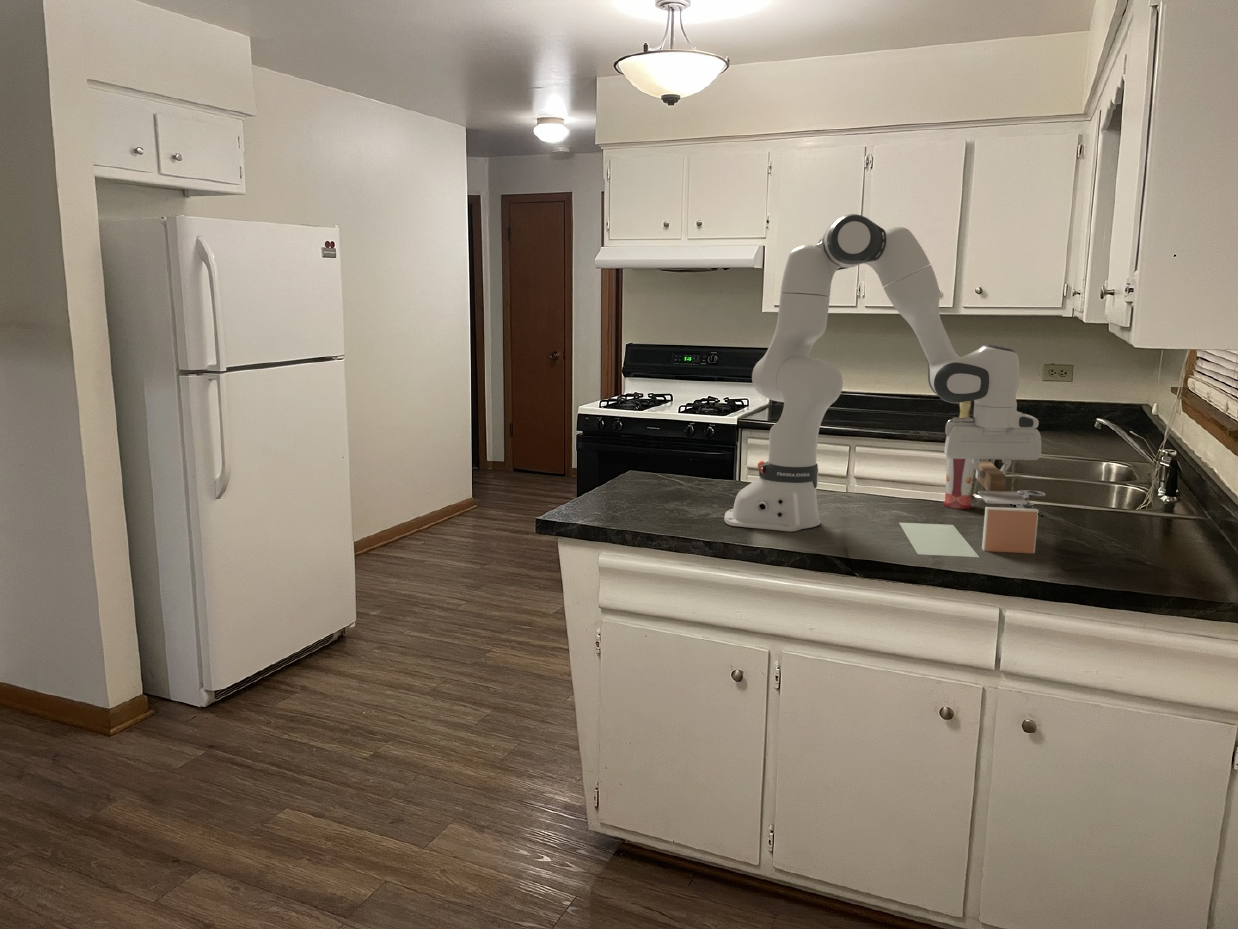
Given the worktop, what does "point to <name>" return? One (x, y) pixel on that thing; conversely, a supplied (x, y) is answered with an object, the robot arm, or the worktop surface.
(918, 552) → the plate
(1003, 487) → the turner
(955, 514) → the worktop surface
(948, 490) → the liquor
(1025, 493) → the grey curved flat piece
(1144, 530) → the worktop surface
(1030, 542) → the tile
